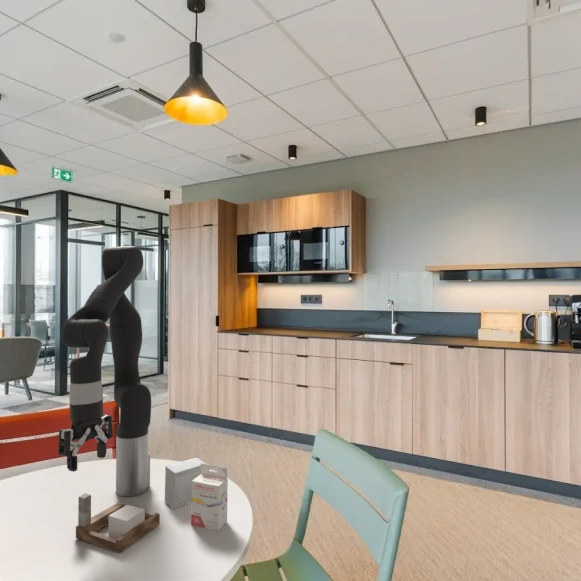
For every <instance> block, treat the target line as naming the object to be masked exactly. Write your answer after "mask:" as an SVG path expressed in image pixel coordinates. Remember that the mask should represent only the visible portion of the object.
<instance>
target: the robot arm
mask: <svg viewBox="0 0 581 581" xmlns="http://www.w3.org/2000/svg"><path fill="white" fill-rule="evenodd" d="M101 257H102V258H101V265H102V266H101V267H102V273H103V278H104V281H103V282H102V283H100V284H98V286H96V287H95V288H94V290H93V291H92V292H91V293H90V294H89V296H88V298H87V300H86V301H85V303H84V305H83V306H82V307H81V308H79V309H78V310H77V311H75V312H74V313H73V314H72V315H71V316H70V317H69V318H68V319H67V320H66V321H65V323H64V324H63V326H62V327H61V332H60V340H61V342H62V343H63V345H64V346H66V347H68V348H74V349H75V348H76V349H78V348H88V351H87V354H86V355H84V356H83V355H82V356H79V357H78V356H77V357H75V358H73V359H72V360H71V361H70V364H69V380H70V381H69V382H70V383H69V390H68V391H69V393H68V394H69V396H68V397H69V399H68V400H69V420H70V422H71V425H70V427H69V428H67V429H60V430H59V431H58V449H57V450H58V451H57V452H58V455H59V456H62V457H66V467H67V468H66V469H67V470H68V471H70V472H76V471H78V455H77V454H78V453H79V452H78V451H79V450H80V448H82V446H83V445H84V443H86V442H88V441H89V440H93V439H95V440H96V441H97V442H96V451H97V452H96V456H97V458H98V459H99V458H100V459H104V458H105V457H106V455H107V442H108V440H109V439H112V438H113V436H114V432H113V431H114V430H113V417H112V415H110V414H104V396H103V393H104V392H103V391H104V390H103V384H102V383H103V382H102V361H103V356H104V352H105V348H106V345H107V342H108V338H109V336H110V343H111V350H112V351H111V353H112V354H111V355H112V360H113V366H114V367H113V368H114V371H113V372H114V375H113V376H114V378H113V379H114V380H113V382H114V383H113V399H114V402H115V404H116V405H117V407H118V408H119V409H120V410H119V411H120V412H119V424H118V425H117V426H116V428H115V429H116V435H115V436H116V437H115V441H116V442H115V447H116V448H115V450H116V451H115V452H116V454H115V455H116V456H115V468H116V469H115V493H116V495H117V496H120V497H133V496H138V495H140V494H143V493H144V492H146V491H147V490H148V487H149V486H150V485H151V456H150V454H149V427H150V424H151V418H152V417H151V416H152V394H151V391H150V389H149V388H148V387H147V386H146V385H145V384H143V383H141V378H140V377H141V376H140V371H139V358H140V353H141V349H142V343H143V328H142V327H143V324H142V318H141V314H140V313H139V311H138V310H137V309H136V307H135V306H134V305H133V303H132V302H131V301H130V299H129V298H128V296H127V295H126V294H125V292H126V291H127V290H128V288H129V287H130V286H131V285H132V284H133V283H134V281H135V280H136V279H137V277H138V276H139V275H140V273H141V272H142V270H143V267H144V255H143V253H142V251H141V249H140V248H139V247H138V246H134V245H123V246H109V247H106V248H105V249H104V250H103V252H102V256H101ZM108 321H109V322H108ZM106 322H108V323H109V328H108V326H107V324H106Z"/></svg>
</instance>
